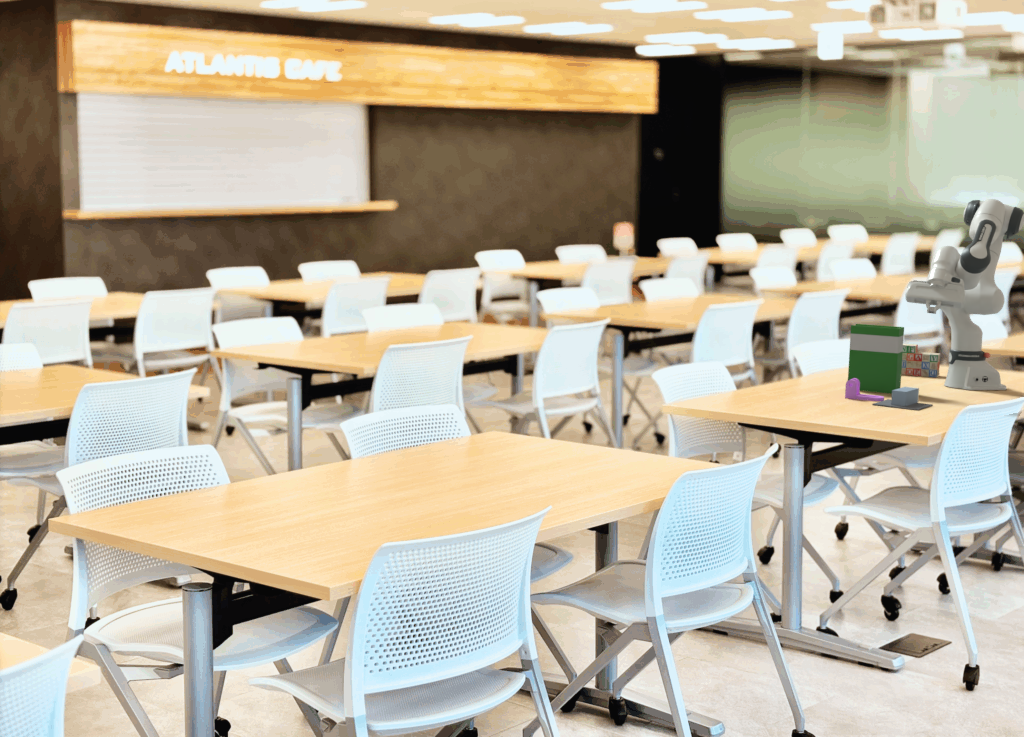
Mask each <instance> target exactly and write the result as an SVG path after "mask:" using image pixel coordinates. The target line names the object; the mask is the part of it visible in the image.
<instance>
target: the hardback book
mask: <svg viewBox="0 0 1024 737" xmlns="http://www.w3.org/2000/svg"><path fill="white" fill-rule="evenodd" d="M904 333H905V327H904V326H892V325H878V324H877V325H876V324H863V323H855V324H852V325H850V336H849V338H850V339H849V353H848V355H849V356H848V372H847V381H848V380H851V379H853V378H857V379H858V380H859V381H860V392H868V393H869V392H870V393H880V394H881V393H882V394H889V395H890V394H891V395H892V390H895V389H899V388H901V387H902V386H901V383H902V375H901V370H902V354H903V344H904V339H905V338H904V336H905V334H904Z"/></svg>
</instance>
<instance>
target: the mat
mask: <svg viewBox="0 0 1024 737" xmlns="http://www.w3.org/2000/svg"><path fill="white" fill-rule="evenodd" d="M871 405H872V406H877V407H879V406H880V407H884V408H885V407H886V408H887V407H888V408H893V409H900V410H901V409H903V410H911V411H920V410H923V409H927V408H930V407H932V406H933V405H934V404H933V403H932V404H931V403H922V402H918V403H914V404H911V405H908V406H898V405H891V399H889V398H887V399H884V401H876V402H873V403H872V404H871Z"/></svg>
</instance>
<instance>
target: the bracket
mask: <svg viewBox="0 0 1024 737" xmlns="http://www.w3.org/2000/svg"><path fill="white" fill-rule="evenodd" d="M860 392H861V391H860V381H859V380H858V379H857V378H853V379H851V380H848V379H847V381H846V383H845V393H844V394H845V396H844V399H846V398H849V400H850V399H851V400H857V399H858V400H859V401H870V402H880V401H884V400H885V396H883V395H877V394H876V395H874V394H864V393H860ZM858 400H857V401H858Z"/></svg>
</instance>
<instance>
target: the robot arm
mask: <svg viewBox="0 0 1024 737" xmlns="http://www.w3.org/2000/svg"><path fill="white" fill-rule="evenodd" d="M962 215H963V222H964V224H965V225H966V226H967V227H969V232H968V236H969V238H970V239H971V240H972V242H970V243H969V244H968V245H967V246H966V247H964V248H963V250H962V251H961V254H960V253H959V250H958V249H957V248H956V247H954V246H952V245H945V246H942V247H939V248H938V249H937V250H936V252H934V255H933V257H932V260H931V263H930V270H929V272H928V275H927V277H926V281H924V280H914V279H913V281H912V280H911V281H908V284H907V290H906V292H905V301H906V302H907V303H911V304H913V303H914V304H921V305H925V306H926V309H927V311H926V313H927V314H934V315H936V314H937V311H939V310H940V311H942V312H943V313H944V315H945V316H946V318H947V319H948V323H949V325H950V328H951V329H950V331H951V332H950V333H951V336H950V337H951V342H950V348H949V352H948V369H947V374H946V378H945V381H944V384H943V385H944V386H945V387H949V388H955V389H961V390H962V389H964V390H966V391H967V390H968V391H997V390H998V391H1005V390H1007V386H1006V385H1005V384H1002V382H1001V381H1002V380H1001V373H1000V372H999V371H998V369H996V368H995V367H993V365H991V364H990V362H988V361H986V360H987V359H990V358H991V353H990V352H985V351H983V350H982V348H983V347H982V346H983V345H982V344H983V331H982V328H981V327H980V326H979V325H977V324H975V322H973V321H972V319H971V316H970V314H971V315H983V316H987V315H996V314H998V313H1000V312H1001V311H1002V309H1003V307H1004V306H1005V305H1004V304H1005V295H1004V293H1003V291H1002V290H1001V288H999V287H998V286H997V284H996V281H995V274H996V269H997V267H998V263H999V259H1000V257H1001V253H1002V247H1003V239H1004V237H1006V240H1009V239H1010V238H1011V237H1014V236H1016V235H1017V234H1018V233H1020V231H1021V230H1022V228H1023V227H1024V210H1023V209H1022V208H1019V207H1018V206H1012V205H1008V204H1004V203H1003V202H1001V201H1000V200H998V199H995V198H994V199H993V198H990V199H986V200H983V201H981V200H980V199H973V200H970V201H969V202H968V203H967V204H966V206H965V208H964V210H963V214H962Z"/></svg>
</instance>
